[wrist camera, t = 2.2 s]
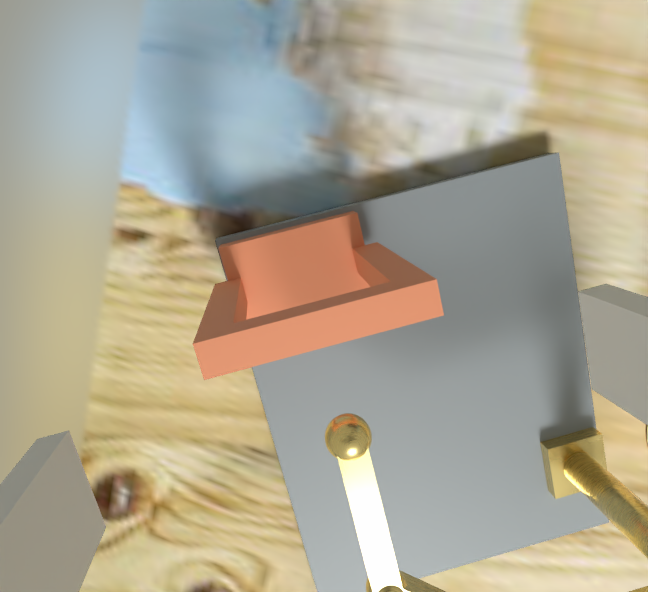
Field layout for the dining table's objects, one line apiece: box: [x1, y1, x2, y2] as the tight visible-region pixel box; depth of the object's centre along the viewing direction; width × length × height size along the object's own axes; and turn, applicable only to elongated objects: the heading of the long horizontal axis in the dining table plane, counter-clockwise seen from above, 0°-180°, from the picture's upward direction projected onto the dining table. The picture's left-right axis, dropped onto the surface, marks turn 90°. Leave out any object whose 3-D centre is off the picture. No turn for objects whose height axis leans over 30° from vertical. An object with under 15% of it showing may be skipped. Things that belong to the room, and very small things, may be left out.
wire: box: [325, 413, 648, 592], centre depth 28 cm, size 15×17×14 cm
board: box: [215, 153, 609, 592], centre depth 35 cm, size 25×20×1 cm
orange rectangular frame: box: [193, 211, 444, 380], centre depth 26 cm, size 5×9×12 cm, turn 104°
